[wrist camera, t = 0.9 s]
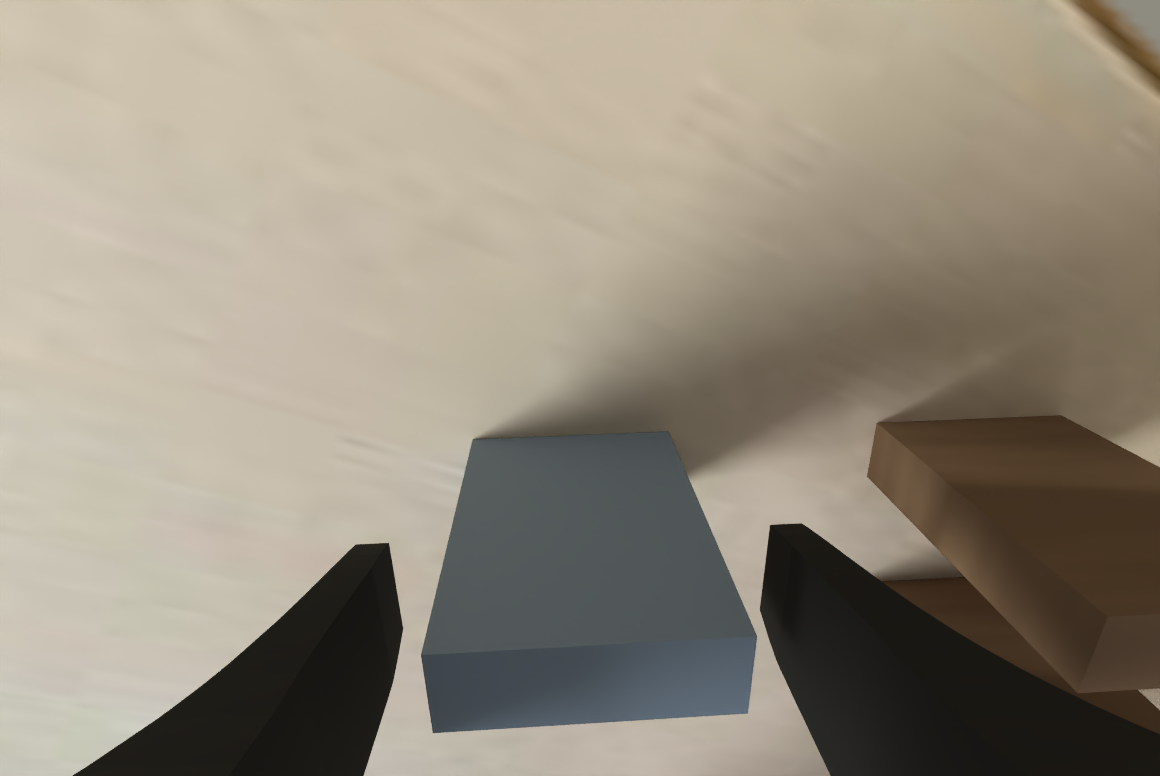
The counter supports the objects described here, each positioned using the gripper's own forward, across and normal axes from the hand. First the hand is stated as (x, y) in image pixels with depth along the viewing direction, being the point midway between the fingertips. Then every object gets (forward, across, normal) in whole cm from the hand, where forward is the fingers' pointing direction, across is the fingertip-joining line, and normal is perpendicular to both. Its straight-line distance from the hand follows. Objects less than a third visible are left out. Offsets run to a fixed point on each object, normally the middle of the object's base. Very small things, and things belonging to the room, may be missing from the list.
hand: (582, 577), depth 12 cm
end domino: (+5, 0, 0) cm, 5 cm away
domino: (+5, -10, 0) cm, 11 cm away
